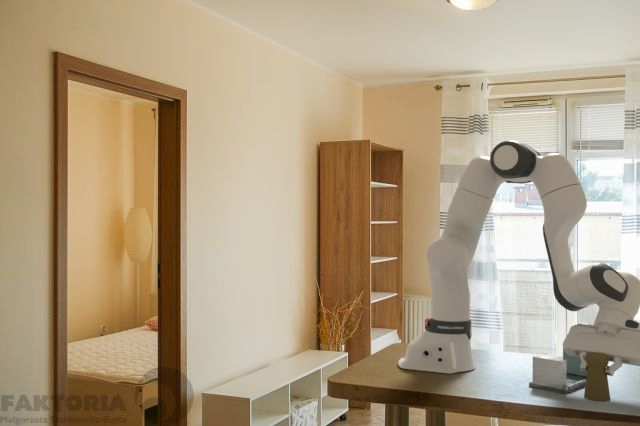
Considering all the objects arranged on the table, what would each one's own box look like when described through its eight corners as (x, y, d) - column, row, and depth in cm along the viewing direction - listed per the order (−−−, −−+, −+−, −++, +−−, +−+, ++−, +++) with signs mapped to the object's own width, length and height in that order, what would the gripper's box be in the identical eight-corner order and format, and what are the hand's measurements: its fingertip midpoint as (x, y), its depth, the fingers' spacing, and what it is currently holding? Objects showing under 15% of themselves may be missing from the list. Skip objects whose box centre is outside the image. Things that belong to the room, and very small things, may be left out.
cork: (584, 399, 161) (584, 354, 161) (583, 393, 167) (583, 349, 167) (611, 402, 159) (611, 356, 159) (609, 395, 165) (609, 351, 165)
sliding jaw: (591, 377, 179) (591, 351, 179) (562, 372, 185) (562, 347, 185) (595, 375, 181) (595, 350, 181) (566, 370, 186) (566, 346, 186)
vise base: (565, 394, 166) (565, 362, 166) (529, 386, 173) (529, 356, 173) (600, 379, 181) (600, 350, 181) (565, 373, 188) (565, 345, 188)
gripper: (569, 315, 175) (551, 357, 168) (650, 325, 161) (635, 371, 154) (576, 330, 178) (559, 372, 171) (656, 341, 164) (642, 387, 157)
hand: (596, 372), depth 162 cm, fingers closed on cork, 5 cm apart
